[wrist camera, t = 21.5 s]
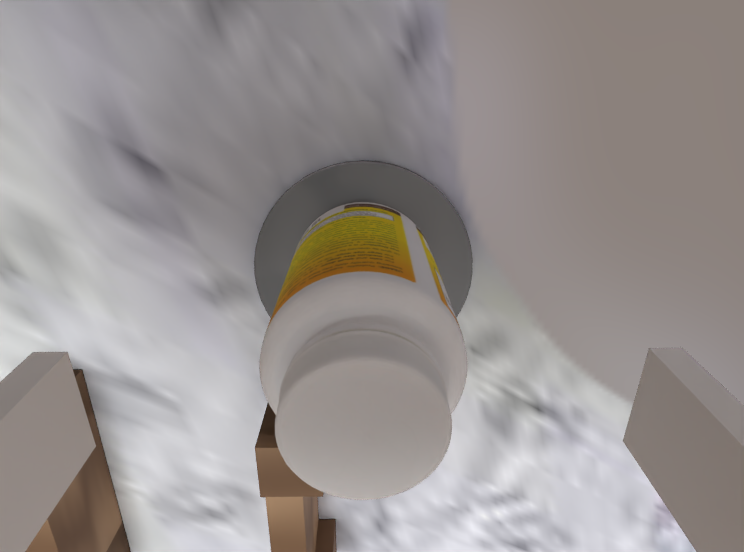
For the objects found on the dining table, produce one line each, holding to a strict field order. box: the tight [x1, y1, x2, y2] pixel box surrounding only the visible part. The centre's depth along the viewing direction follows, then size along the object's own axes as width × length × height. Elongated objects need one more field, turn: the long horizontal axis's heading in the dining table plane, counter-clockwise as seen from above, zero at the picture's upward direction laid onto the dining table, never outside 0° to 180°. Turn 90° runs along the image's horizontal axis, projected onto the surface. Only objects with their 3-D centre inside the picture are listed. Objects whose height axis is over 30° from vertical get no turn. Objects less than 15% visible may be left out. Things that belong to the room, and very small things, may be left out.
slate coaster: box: [254, 161, 472, 317], centre depth 21 cm, size 9×9×1 cm
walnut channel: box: [25, 370, 336, 552], centre depth 23 cm, size 12×14×5 cm
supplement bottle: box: [259, 202, 467, 500], centre depth 16 cm, size 6×6×10 cm
